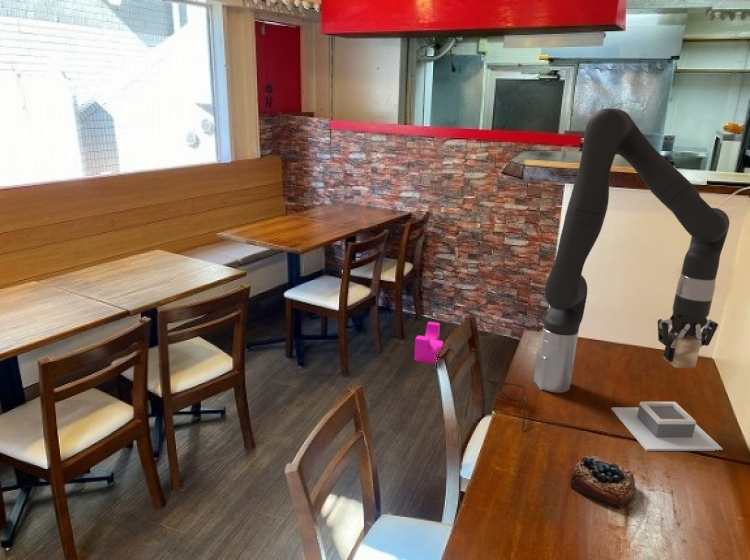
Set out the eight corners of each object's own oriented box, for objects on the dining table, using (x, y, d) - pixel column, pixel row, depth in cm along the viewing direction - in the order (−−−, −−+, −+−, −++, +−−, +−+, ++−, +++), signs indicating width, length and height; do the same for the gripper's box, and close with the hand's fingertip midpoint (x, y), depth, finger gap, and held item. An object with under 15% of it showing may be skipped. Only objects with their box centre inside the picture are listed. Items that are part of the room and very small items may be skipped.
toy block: (434, 364, 165) (435, 342, 163) (414, 360, 168) (415, 338, 165) (445, 345, 179) (447, 324, 176) (427, 342, 181) (428, 321, 179)
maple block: (675, 367, 130) (681, 340, 128) (663, 358, 135) (668, 332, 132) (695, 367, 130) (701, 340, 128) (682, 358, 135) (688, 332, 133)
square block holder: (646, 450, 126) (650, 432, 124) (611, 409, 143) (614, 392, 141) (722, 450, 126) (727, 432, 125) (678, 409, 144) (682, 392, 142)
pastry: (581, 463, 121) (585, 441, 119) (639, 487, 114) (644, 463, 112) (563, 489, 113) (567, 464, 111) (624, 516, 106) (629, 490, 104)
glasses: (524, 401, 146) (526, 385, 144) (522, 436, 132) (524, 419, 130) (470, 392, 149) (471, 377, 147) (463, 426, 136) (465, 409, 134)
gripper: (674, 299, 123) (659, 367, 128) (734, 300, 124) (717, 367, 129) (655, 288, 130) (642, 353, 135) (712, 289, 131) (698, 353, 136)
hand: (679, 360), depth 132 cm, fingers closed on maple block, 5 cm apart
